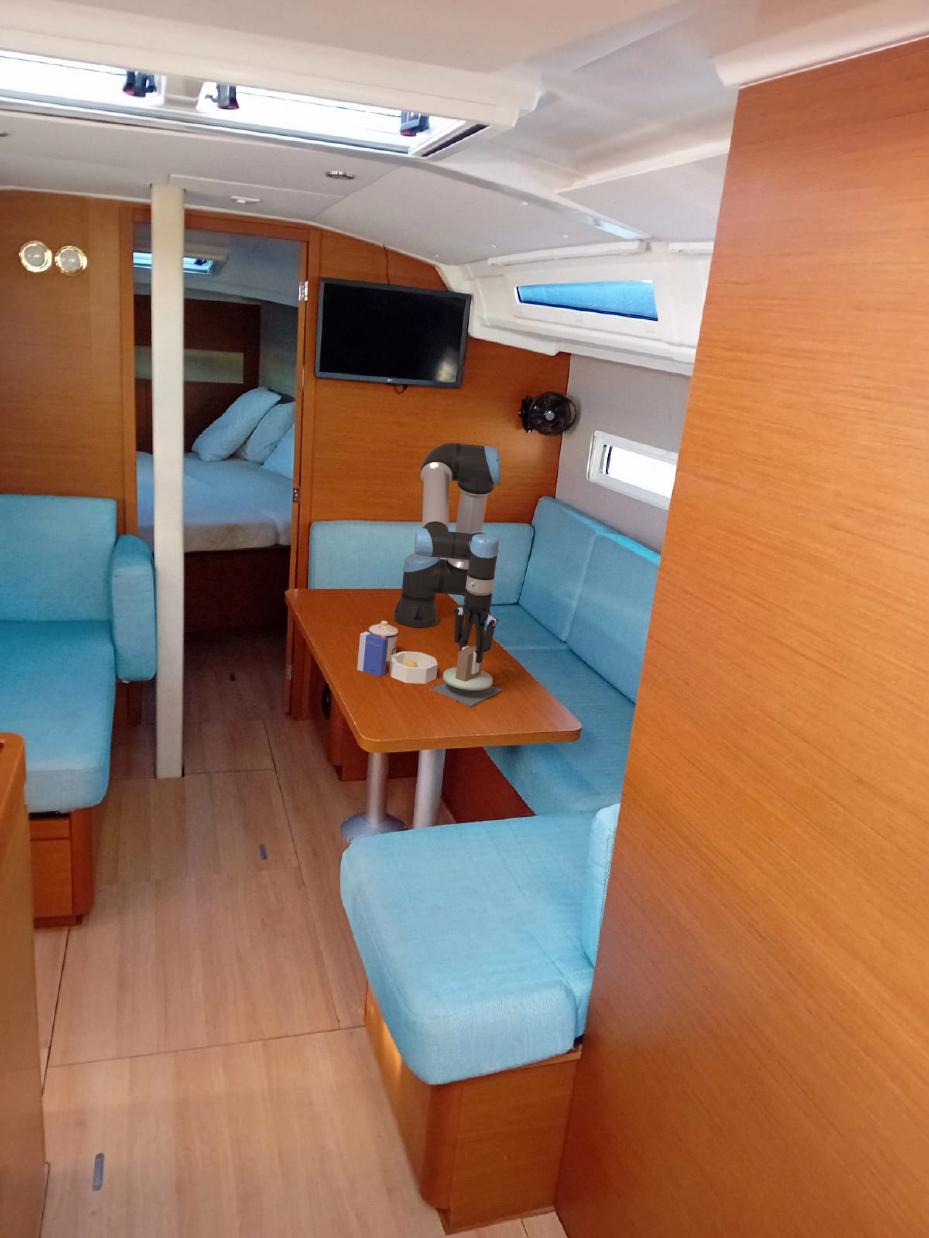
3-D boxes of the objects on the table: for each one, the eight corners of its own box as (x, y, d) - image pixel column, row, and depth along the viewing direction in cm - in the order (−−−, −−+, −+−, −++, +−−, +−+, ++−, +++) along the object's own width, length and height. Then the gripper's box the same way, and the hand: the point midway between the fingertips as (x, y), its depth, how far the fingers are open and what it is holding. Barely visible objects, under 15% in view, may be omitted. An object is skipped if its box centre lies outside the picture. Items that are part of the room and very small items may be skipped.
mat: (461, 676, 275) (462, 674, 274) (501, 691, 268) (502, 689, 267) (429, 691, 262) (430, 689, 262) (471, 707, 255) (471, 705, 254)
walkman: (385, 675, 269) (388, 636, 265) (380, 678, 266) (383, 639, 262) (361, 668, 272) (365, 630, 268) (356, 671, 269) (360, 632, 265)
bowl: (408, 663, 279) (409, 648, 278) (443, 676, 273) (445, 661, 271) (380, 674, 269) (382, 658, 267) (416, 688, 262) (418, 672, 261)
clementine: (408, 670, 273) (410, 657, 272) (419, 674, 271) (421, 661, 270) (400, 673, 270) (401, 660, 268) (411, 677, 268) (412, 665, 266)
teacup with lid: (397, 664, 278) (401, 627, 274) (367, 662, 276) (370, 626, 273) (393, 649, 289) (396, 613, 286) (363, 648, 287) (367, 612, 284)
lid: (461, 666, 273) (464, 637, 270) (501, 681, 265) (505, 651, 263) (433, 679, 261) (436, 648, 258) (474, 694, 254) (478, 663, 251)
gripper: (446, 586, 256) (437, 665, 264) (496, 601, 248) (485, 682, 255) (462, 581, 262) (452, 658, 270) (511, 596, 254) (500, 675, 261)
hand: (469, 670), depth 262 cm, fingers closed on lid, 3 cm apart
